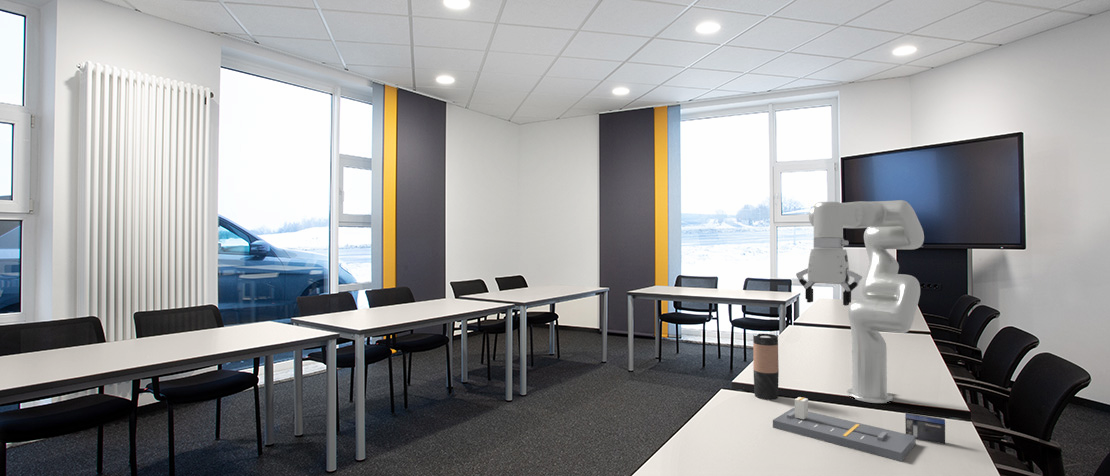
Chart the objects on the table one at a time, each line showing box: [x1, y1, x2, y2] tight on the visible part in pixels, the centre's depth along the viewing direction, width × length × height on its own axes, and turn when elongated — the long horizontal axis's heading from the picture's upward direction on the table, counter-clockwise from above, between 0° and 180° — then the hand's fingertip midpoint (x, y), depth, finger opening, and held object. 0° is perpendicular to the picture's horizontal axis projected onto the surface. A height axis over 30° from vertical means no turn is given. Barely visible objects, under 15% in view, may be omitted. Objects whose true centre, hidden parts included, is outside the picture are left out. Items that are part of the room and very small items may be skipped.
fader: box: [794, 396, 809, 419], centre depth 141 cm, size 3×2×5 cm
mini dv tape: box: [904, 412, 946, 445], centre depth 130 cm, size 8×2×6 cm, turn 55°
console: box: [772, 407, 917, 462], centre depth 134 cm, size 14×30×3 cm, turn 43°
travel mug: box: [752, 333, 780, 401], centre depth 167 cm, size 8×8×20 cm
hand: (827, 303), depth 147 cm, fingers open, 9 cm apart
